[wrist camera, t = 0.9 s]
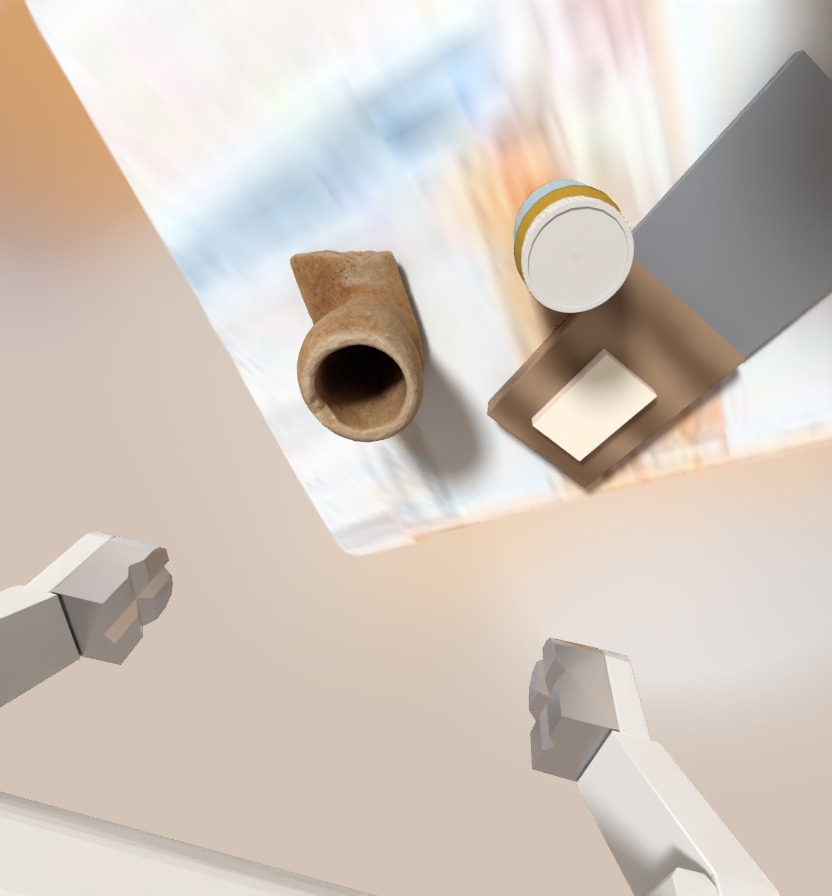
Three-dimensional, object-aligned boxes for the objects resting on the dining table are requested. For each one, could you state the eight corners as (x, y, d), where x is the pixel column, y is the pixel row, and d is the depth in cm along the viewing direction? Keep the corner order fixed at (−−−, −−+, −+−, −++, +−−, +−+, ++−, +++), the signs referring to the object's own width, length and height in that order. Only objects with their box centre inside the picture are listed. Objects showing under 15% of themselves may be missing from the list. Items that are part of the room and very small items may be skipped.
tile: (603, 348, 41) (606, 354, 40) (652, 389, 42) (657, 396, 41) (532, 418, 46) (532, 425, 44) (577, 453, 47) (579, 461, 46)
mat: (795, 53, 32) (802, 50, 31) (929, 200, 35) (940, 201, 34) (619, 245, 39) (621, 247, 39) (740, 353, 42) (745, 357, 41)
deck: (627, 252, 40) (635, 259, 37) (733, 346, 42) (747, 358, 40) (488, 401, 49) (487, 414, 46) (581, 471, 51) (584, 487, 49)
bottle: (500, 252, 41) (494, 294, 29) (538, 165, 38) (550, 169, 25) (573, 283, 42) (599, 337, 29) (618, 199, 38) (670, 220, 25)
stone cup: (454, 377, 48) (433, 455, 36) (348, 397, 52) (294, 474, 39) (415, 218, 41) (372, 245, 29) (295, 252, 45) (210, 290, 32)
